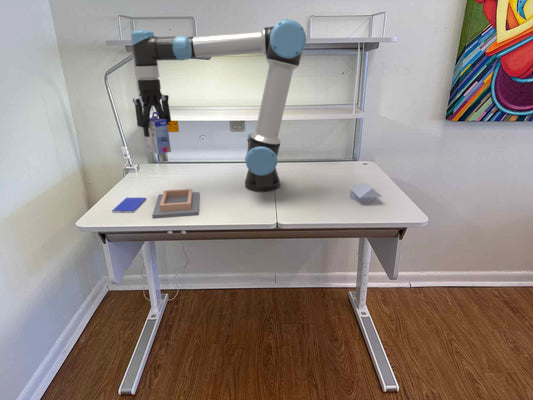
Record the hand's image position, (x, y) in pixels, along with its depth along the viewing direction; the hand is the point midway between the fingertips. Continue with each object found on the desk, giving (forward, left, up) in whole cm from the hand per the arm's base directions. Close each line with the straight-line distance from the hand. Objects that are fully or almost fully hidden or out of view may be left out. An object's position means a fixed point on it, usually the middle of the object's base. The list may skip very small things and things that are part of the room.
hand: (157, 143), depth 137 cm
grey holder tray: (-6, +9, -22) cm, 25 cm away
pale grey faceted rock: (-78, +15, -23) cm, 82 cm away
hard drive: (+12, +6, -23) cm, 27 cm away
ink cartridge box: (0, 0, -3) cm, 3 cm away
